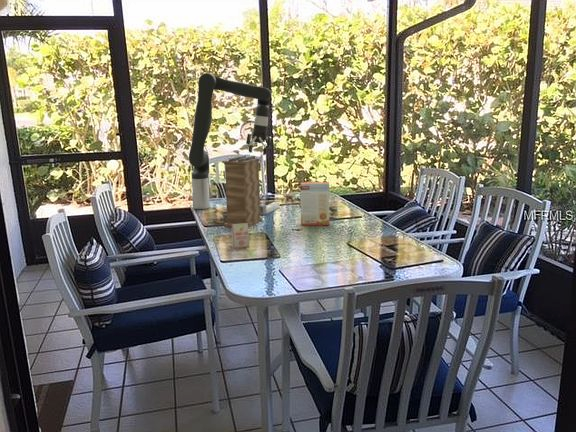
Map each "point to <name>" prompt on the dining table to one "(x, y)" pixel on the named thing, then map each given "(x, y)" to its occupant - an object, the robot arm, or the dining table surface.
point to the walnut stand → (242, 191)
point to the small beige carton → (240, 235)
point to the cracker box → (314, 203)
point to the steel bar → (268, 208)
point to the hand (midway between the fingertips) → (257, 153)
